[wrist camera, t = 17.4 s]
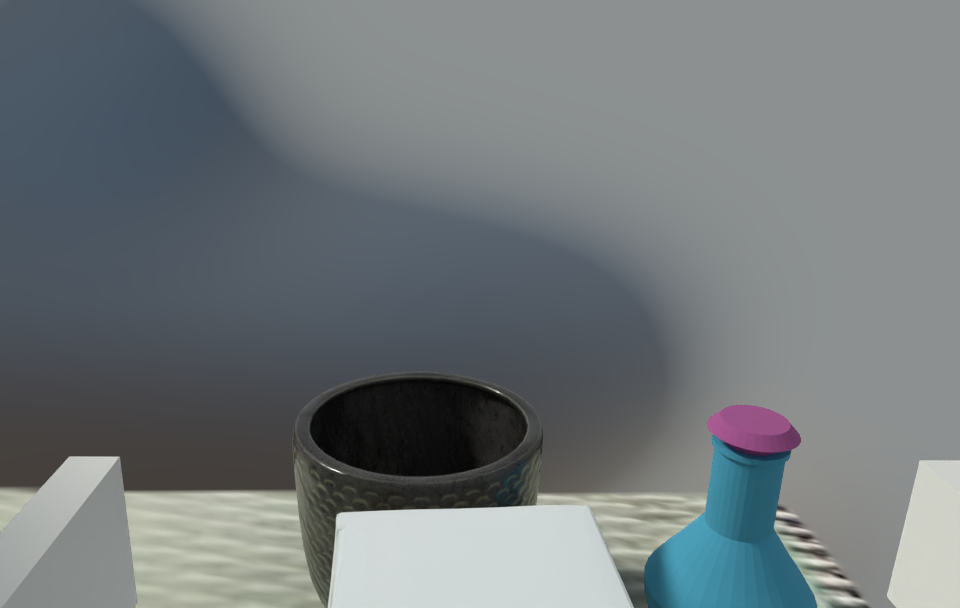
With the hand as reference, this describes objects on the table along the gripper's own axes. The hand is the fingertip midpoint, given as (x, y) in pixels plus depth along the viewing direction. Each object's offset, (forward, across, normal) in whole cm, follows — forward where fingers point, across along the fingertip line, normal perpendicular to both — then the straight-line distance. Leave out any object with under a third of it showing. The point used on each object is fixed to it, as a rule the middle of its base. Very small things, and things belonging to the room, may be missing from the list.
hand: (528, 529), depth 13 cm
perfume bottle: (+24, +15, -25) cm, 38 cm away
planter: (+28, -2, -25) cm, 38 cm away
